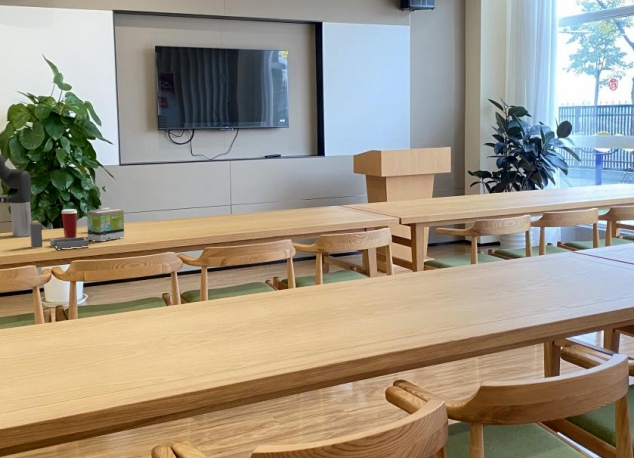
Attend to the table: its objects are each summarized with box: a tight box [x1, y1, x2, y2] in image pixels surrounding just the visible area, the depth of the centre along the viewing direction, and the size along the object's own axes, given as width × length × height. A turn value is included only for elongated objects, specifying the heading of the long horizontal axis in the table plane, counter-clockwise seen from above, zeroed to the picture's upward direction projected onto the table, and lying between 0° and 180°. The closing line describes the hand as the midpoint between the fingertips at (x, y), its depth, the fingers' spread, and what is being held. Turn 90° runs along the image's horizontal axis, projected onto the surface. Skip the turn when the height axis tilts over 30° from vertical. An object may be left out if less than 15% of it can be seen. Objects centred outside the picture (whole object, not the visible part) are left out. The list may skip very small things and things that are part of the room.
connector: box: [30, 220, 43, 248], centre depth 318 cm, size 4×4×12 cm
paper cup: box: [60, 208, 78, 239], centre depth 344 cm, size 8×8×14 cm
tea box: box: [86, 208, 125, 242], centre depth 339 cm, size 15×10×15 cm, turn 148°
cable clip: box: [49, 238, 55, 247], centre depth 322 cm, size 3×4×3 cm
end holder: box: [53, 236, 90, 250], centre depth 319 cm, size 10×14×4 cm
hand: (14, 200), depth 312 cm, fingers open, 8 cm apart
